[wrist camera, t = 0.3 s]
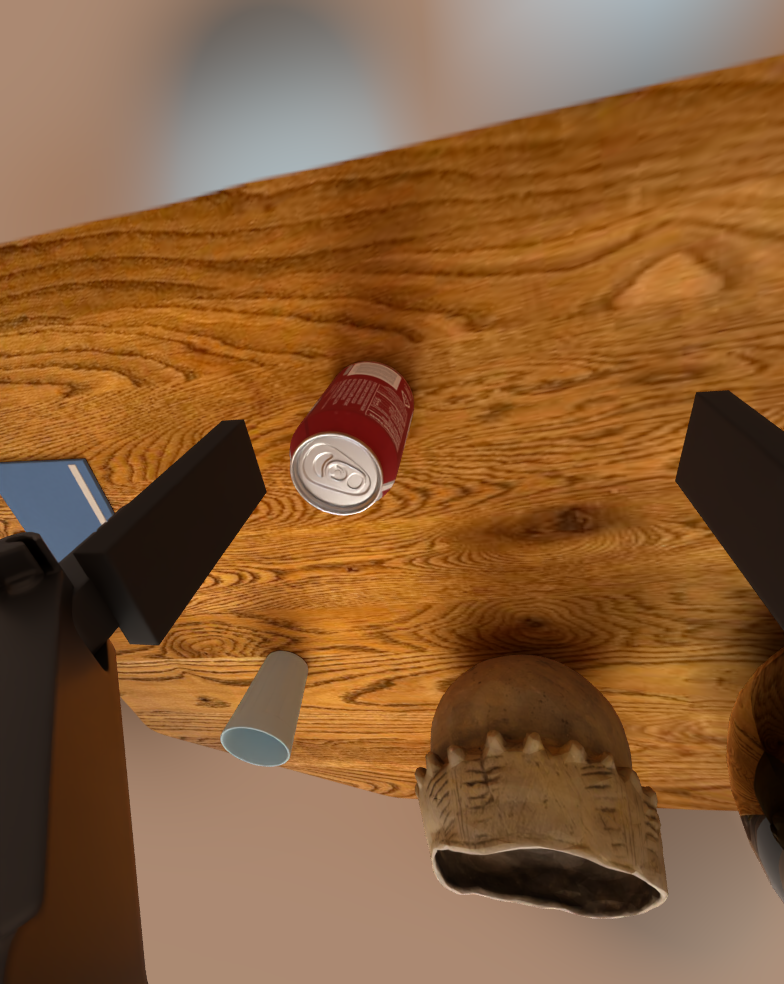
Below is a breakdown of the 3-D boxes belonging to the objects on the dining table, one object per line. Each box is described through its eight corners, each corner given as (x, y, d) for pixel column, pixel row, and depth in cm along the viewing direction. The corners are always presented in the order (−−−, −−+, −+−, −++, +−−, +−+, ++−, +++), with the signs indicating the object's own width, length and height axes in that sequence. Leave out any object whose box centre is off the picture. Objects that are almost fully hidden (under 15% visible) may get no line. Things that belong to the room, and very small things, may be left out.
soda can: (352, 341, 34) (302, 400, 24) (430, 385, 35) (414, 459, 25) (319, 414, 38) (264, 492, 28) (391, 451, 38) (363, 540, 29)
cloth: (-17, 462, 46) (-21, 465, 45) (85, 458, 44) (81, 460, 43) (62, 580, 54) (59, 582, 54) (151, 581, 52) (148, 584, 52)
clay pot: (577, 742, 57) (620, 965, 41) (411, 707, 58) (388, 910, 41) (652, 636, 46) (756, 886, 29) (444, 593, 47) (430, 812, 30)
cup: (292, 637, 54) (258, 722, 45) (329, 675, 57) (303, 761, 48) (246, 652, 57) (206, 734, 48) (283, 687, 60) (252, 770, 51)
